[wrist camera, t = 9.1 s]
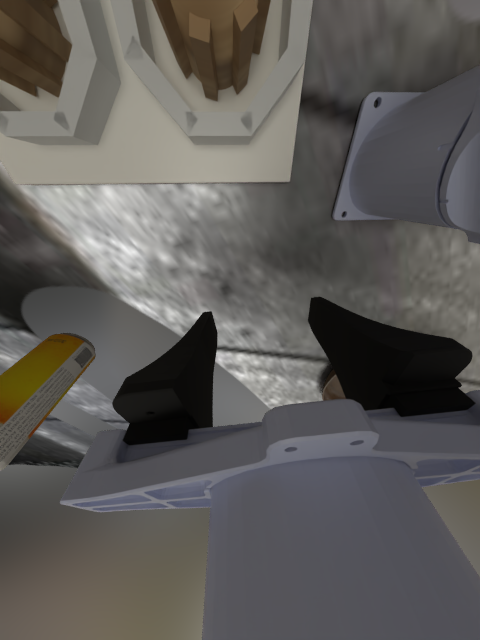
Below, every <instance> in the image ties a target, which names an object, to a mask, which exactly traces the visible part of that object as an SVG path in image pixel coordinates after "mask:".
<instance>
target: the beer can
mask: <svg viewBox="0 0 480 640" xmlns="http://www.w3.org/2000/svg"><path fill="white" fill-rule="evenodd" d="M94 359H95V348H94V346H93V345H92V344H91V342H89V341H88V340H87V339H85V338H83V337H81V336H79V335H76V334H71V333H63V334H55V335H52V336H49V337H48V338H47V339H46V340H44V341H43V342H42V343H41V344H39V345H38V346H37V347H36V348H34V349H33V350H32V351H30V352H29V353H28V354H27V355H25V356H24V357H23V358H22V359H20V360H19V361H18V362H17V363H15V364H14V365H13V366H12V367H10V368H9V369H8V370H7V371H5V372H4V373H3V374H2V375H0V471H1V470H3V469H4V468H5V467H6V466H7V465H8V464H9V463H10V462H11V460H12V459H13V458H14V457H15V455H16V454H17V453H18V452H19V451H20V449H21V448H22V447H23V446H24V444H25V443H26V442H27V441H28V439H29V438H30V437H31V436H32V435H33V433H34V432H35V431H36V430H37V428H38V427H39V426H40V425H41V424H42V422H43V421H44V420H45V419H46V417H47V416H48V415H49V414H50V412H51V411H52V410H53V409H54V407H55V406H56V405H57V404H58V403H59V401H60V400H61V399H62V398H63V397H64V395H65V394H66V393H67V392H68V390H69V389H70V388H71V387H72V386H73V384H74V383H75V382H76V381H77V379H78V378H79V377H80V375H82V373H83V372H84V371H85V370H86V368H87V367H88V366H89V365H90V363H91V362H92V361H93V360H94Z"/></svg>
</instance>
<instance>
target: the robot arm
mask: <svg viewBox="0 0 480 640" xmlns="http://www.w3.org/2000/svg"><path fill="white" fill-rule="evenodd" d="M375 100H377V101H378V105H377V107H376V108H375V107H374V102H375ZM343 212H345V215H344V216H343V217H342V216H341V215H342V213H343ZM332 218H333V219H334V220H390V219H399V220H405V221H411V222H417V223H423V224H429V225H436V226H442V227H448V228H454V229H460V230H462V231H464V232H465V233H466V234H467V236H468V241H469V242H473V243H478V244H480V65H478V66H476V67H474V68H472V69H470V70H468V71H466V72H464V73H462V74H460V75H458V76H456V77H454V78H452V79H450V80H448V81H447V82H445V83H443V84H441V85H439V86H437V87H435V88H433V89H431V90H429V91H427V92H372V93H370V94H368V95H367V96H366V97H365V98H364V100H363V102H362V104H361V108H360V112H359V116H358V119H357V123H356V127H355V131H354V134H353V138H352V142H351V146H350V150H349V153H348V157H347V161H346V165H345V168H344V172H343V176H342V180H341V184H340V187H339V191H338V195H337V199H336V203H335V206H334V210H333V214H332ZM308 322H309V324H310V327H311V329H312V332H313V333H314V335H315V337H316V339H317V340H318V342H319V344H320V345H321V347H322V348H323V350H324V352H325V353H326V355H327V357H328V359H329V360H330V362H331V364H332V367H333V369H334V371H335V373H336V376H337V378H338V380H339V383H340V385H341V387H342V390H343V392H344V395H345V398H346V399H335V400H325V401H316V402H307V403H298V404H289V405H283V406H279V407H275V408H273V409H271V410H269V411H268V412H266V413H265V415H264V417H263V419H262V422H256V423H247V424H237V425H228V426H218V427H213V417H212V404H213V402H212V400H213V372H214V364H215V357H216V350H217V329H216V326H215V322H214V318H213V315H212V311H210V312H203V313H202V315H201V316H200V317H199V319H198V320H197V321H196V322H195V324H194V325H193V326H192V328H191V329H190V330H189V331H188V332H187V333H186V334H185V336H184V337H183V338H182V339H181V340H180V341H179V342H178V343H177V344H176V345H174V346H173V347H172V348H171V349H170V350H169V351H167V352H166V353H165V354H163V355H162V356H161V357H160V358H158V359H157V360H155V361H154V362H152V363H151V364H149V365H148V366H146V367H145V368H143V369H141V370H139V371H138V372H136V373H135V374H132V375H131V376H129V377H127V378H126V379H125V381H124V382H123V384H122V386H121V388H120V390H119V391H118V393H117V395H116V397H115V399H114V400H113V403H112V404H113V408H114V409H115V411H116V412H117V413H118V414H119V415H121V416H122V417H123V418H124V419H125V420H126V421H128V422H129V423H130V424H129V427H128V429H127V431H126V430H123V429H116V430H107V431H100V432H98V433H97V435H96V437H95V438H94V440H93V442H92V444H91V446H90V447H89V449H88V451H87V453H86V455H85V457H84V458H83V460H82V462H81V464H80V466H79V467H78V470H77V471H76V473H75V475H74V476H73V478H72V480H71V482H70V484H69V486H68V487H67V489H66V491H65V493H64V495H63V496H62V498H61V500H60V504H63V505H68V506H72V507H77V508H82V509H86V510H91V511H95V512H110V511H124V510H143V509H170V508H171V509H172V508H201V507H203V508H204V507H205V508H206V507H210V521H209V536H208V552H207V554H208V555H207V568H206V584H205V601H204V616H203V632H202V640H480V577H479V575H478V574H477V572H476V571H475V569H474V568H473V566H472V565H471V563H470V561H469V560H468V558H467V557H466V555H465V554H464V552H463V551H462V549H461V548H460V546H459V545H458V543H457V541H456V540H455V538H454V537H453V535H452V534H451V532H450V531H449V529H448V528H447V526H446V524H445V523H444V521H443V520H442V518H441V517H440V515H439V514H438V512H437V510H436V509H435V507H434V506H433V504H432V503H431V501H430V500H429V499H428V497H427V495H426V494H425V492H424V491H423V489H422V487H428V486H435V485H442V484H449V483H455V482H463V481H471V480H478V479H480V390H475V391H470V392H468V393H466V394H465V393H464V392H462V391H461V390H460V389H459V388H458V387H461V386H462V385H461V383H460V382H458V381H457V380H456V379H455V377H456V376H457V375H458V374H459V373H460V372H461V371H462V370H463V369H464V368H465V367H467V365H468V364H469V363H470V362H471V359H472V352H471V351H470V350H469V349H467V348H466V347H464V346H463V345H461V344H460V343H458V342H457V341H455V340H454V339H452V338H446V337H440V336H434V335H428V334H422V333H418V332H413V331H408V330H404V329H400V328H396V327H392V326H389V325H385V324H382V323H379V322H376V321H373V320H370V319H367V318H365V317H362V316H360V315H357V314H355V313H353V312H351V311H348V310H346V309H344V308H342V307H340V306H338V305H336V304H334V303H332V302H330V301H328V300H326V299H324V298H322V297H314V298H311V303H310V310H309V317H308Z"/></svg>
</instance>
